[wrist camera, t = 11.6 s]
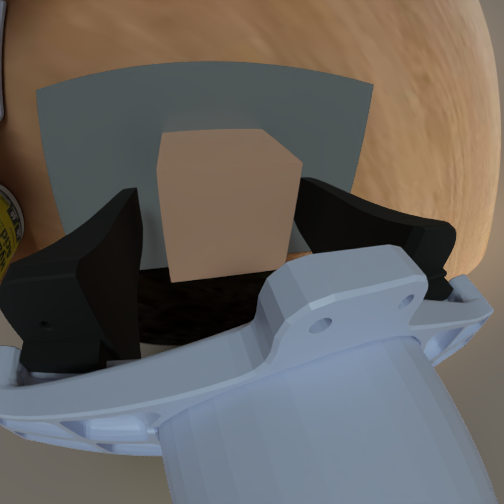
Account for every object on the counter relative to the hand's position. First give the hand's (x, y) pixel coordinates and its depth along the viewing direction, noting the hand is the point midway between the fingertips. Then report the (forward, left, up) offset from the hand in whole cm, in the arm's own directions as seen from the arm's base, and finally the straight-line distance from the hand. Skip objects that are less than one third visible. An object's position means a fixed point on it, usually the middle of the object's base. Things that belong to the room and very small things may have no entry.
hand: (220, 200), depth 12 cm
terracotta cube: (0, 0, -3) cm, 3 cm away
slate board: (0, 0, -4) cm, 4 cm away
